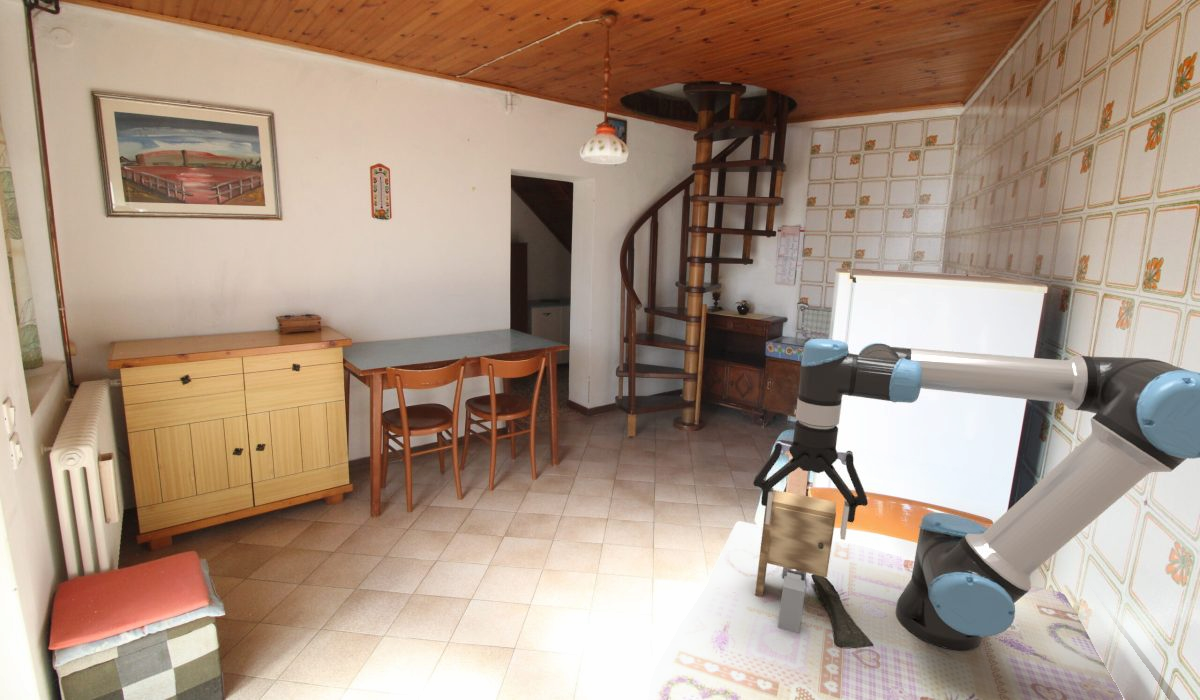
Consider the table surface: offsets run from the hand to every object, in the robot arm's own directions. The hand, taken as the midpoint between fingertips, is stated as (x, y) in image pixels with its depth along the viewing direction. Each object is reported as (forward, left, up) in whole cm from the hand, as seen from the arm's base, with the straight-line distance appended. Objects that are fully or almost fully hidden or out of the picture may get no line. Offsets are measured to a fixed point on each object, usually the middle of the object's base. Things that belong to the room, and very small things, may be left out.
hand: (804, 528), depth 111 cm
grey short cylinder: (0, -18, -21) cm, 27 cm away
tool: (-9, -8, -22) cm, 25 cm away
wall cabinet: (0, -10, -21) cm, 23 cm away
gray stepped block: (+1, -7, -21) cm, 22 cm away
